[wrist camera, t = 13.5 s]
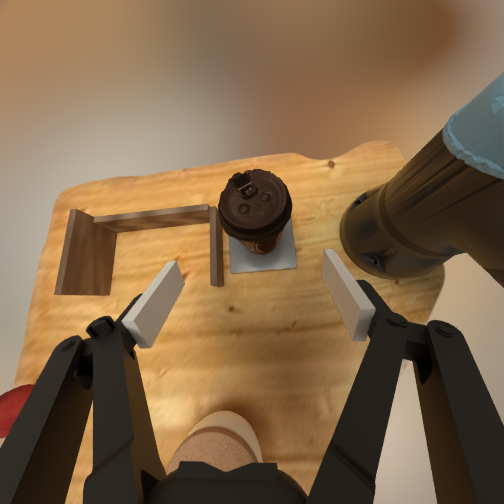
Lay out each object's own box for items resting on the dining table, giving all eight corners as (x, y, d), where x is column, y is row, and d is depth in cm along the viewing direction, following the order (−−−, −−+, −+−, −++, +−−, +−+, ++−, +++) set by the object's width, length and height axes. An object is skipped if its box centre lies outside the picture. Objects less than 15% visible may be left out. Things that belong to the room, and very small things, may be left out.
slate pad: (288, 209, 34) (289, 205, 33) (296, 268, 31) (297, 267, 30) (229, 215, 35) (228, 212, 33) (231, 273, 32) (230, 273, 31)
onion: (32, 423, 29) (-54, 468, 22) (29, 384, 31) (-52, 413, 23) (65, 408, 29) (-8, 447, 22) (61, 370, 31) (-9, 394, 23)
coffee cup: (241, 210, 33) (223, 158, 21) (288, 215, 32) (298, 163, 20) (232, 257, 31) (206, 230, 19) (281, 264, 30) (288, 241, 18)
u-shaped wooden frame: (221, 216, 35) (207, 193, 27) (223, 286, 32) (208, 282, 24) (112, 228, 37) (70, 209, 29) (104, 295, 33) (54, 294, 26)
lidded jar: (269, 401, 27) (267, 455, 18) (263, 495, 24) (258, 613, 15) (198, 390, 28) (163, 434, 19) (186, 478, 26) (139, 576, 17)
